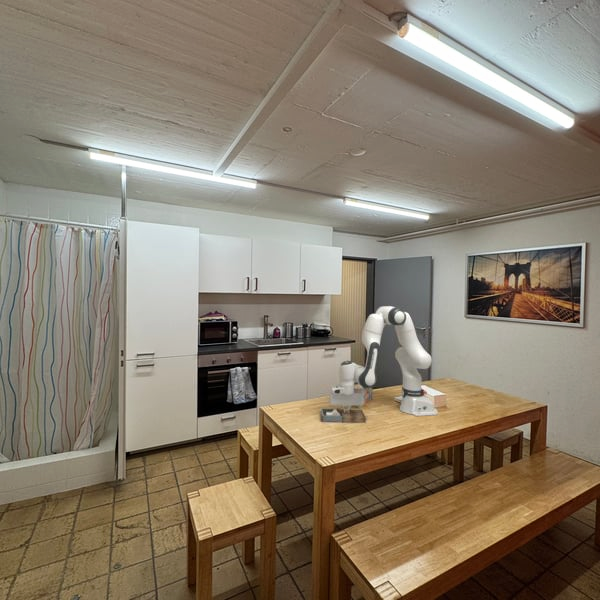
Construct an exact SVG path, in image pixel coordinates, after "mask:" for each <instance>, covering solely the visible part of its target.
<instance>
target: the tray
mask: <svg viewBox="0 0 600 600" xmlns="http://www.w3.org/2000/svg"><path fill="white" fill-rule="evenodd" d="M320 409H321V411H320V415H321V420H322V421H321V422H322V423H343V421H342V416H341V415H340V416H334V415H333V416H326V412H332V411H333V410H334V409H336V410H337V411H338V412H339V413H340V409H341V408H320Z"/></svg>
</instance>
